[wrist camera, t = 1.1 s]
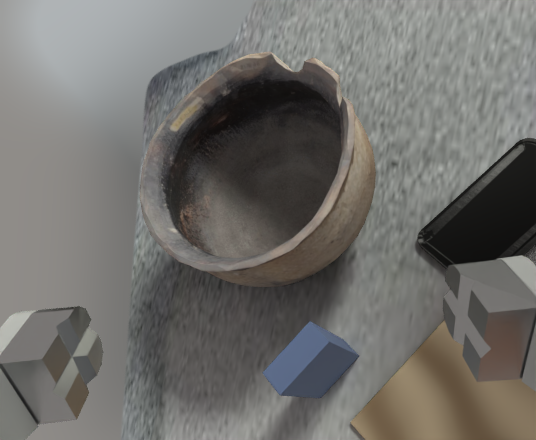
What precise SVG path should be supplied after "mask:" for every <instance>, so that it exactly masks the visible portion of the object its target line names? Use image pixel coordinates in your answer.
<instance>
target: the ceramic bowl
mask: <svg viewBox="0 0 536 440" xmlns="http://www.w3.org/2000/svg"><path fill="white" fill-rule="evenodd" d="M375 176H376V172H375V162H374V155H373V150H372V147H371V144H370V142H369V139H368V137H367V134H366V132H365V130H364V128H363V126H362V125H361V123H360V121H359V119H358V118H357V116H356V115H355V112H354V108H353V105H352V103H351V102H350V100H349V99H347V98H344V97H342V93H341V88H340V78H339V75H338V74H336V73H335V72H334V71H333V70H332V69H331V68H329V67H327V66H325V65H324V64H323V63H322V62H321V61H319V60H317V59H315V58H311V59H309V60H306V61H305V62H304V66H303V69H302V70H300V71H299V72H293V71H292V70H291V69H290V68H289V67H288V66H287V65H286V64H285V63H283V62H282V61H281V60H280V59H279V58H278V57H276V56H275V55H274V54H273V53H271V52H264V53H257V54H249V55H247V56H244V57H241V58H239V59H237V60H235V61H233V62H231V63H229V64H228V65H226V66H224V67H222V68H221V69H219V70H218V71H217V72H215V73H214V74H213V75H211V76H210V77H209V78H207V79H206V80H204V81H202V82H201V83H200V84H199V85H198V86H197V87H196V88H195V89H194V90H193V91H192V92H191V93H189V94H188V95H186V96H184V98H183V99H182V100H181V101H180V102H179V103H178V104H177V105H176V107H175V108H174V109H173V110H172V111H171V112H170V113H169V115H168V116H167V117H166V119H165V120H164V121H163V123H162V124H161V125H160V127H159V128H158V130H157V131H156V133H155V134H154V136H153V138H152V140H151V142H150V144H149V148H148V151H147V154H146V157H145V159H144V163H143V167H142V174H141V183H140V201H141V207H142V213H143V216H144V220H145V223H146V225H147V227H148V229H149V231H150V234H151V236H152V237H153V238H154V239H155V241H156V242H157V243H158V244H159V245H160V246H161V247H162V248H163V249H164V250H165V251H166V252H167V253H168V254H169V255H171V256H172V257H173V258H175V259H176V260H177V261H179V262H181V263H184V264H187V265H189V266H192V267H194V268H196V269H198V270H201V271H206V272H208V273H210V274H212V275H214V276H216V277H218V278H220V279H222V280H225V281H228V282H231V283H235V284H239V285H245V286H252V287H277V286H285V285H289V284H292V283H296V282H299V281H302V280H304V279H306V278H307V277H309V276H311V275H313V274H315V273H317V272H319V271H320V270H322V269H323V268H325V267H326V266H327V265H329V264H330V263H331V262H333V261H334V260H336V259H337V258H338V257H339V256H340V255H341V254H342V253H343V252H344V251H345V250H346V249H347V248H348V246H349V245H350V244H351V243H352V242H353V241H354V240H355V238H356V237H357V236H358V234H359V232H360V230H361V228H362V227H363V225H364V223H365V220H366V217H367V214H368V212H369V209H370V206H371V203H372V198H373V194H374V189H375Z"/></svg>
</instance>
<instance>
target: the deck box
mask: <svg viewBox="0 0 536 440" xmlns="http://www.w3.org/2000/svg"><path fill="white" fill-rule="evenodd" d="M358 357H359V355H358V354H357V353H356V352H355V351H354V350H353V349H352V348H351V347H350V346H349V345H348V344H347V343H346V342H345V341H344V340H343V339H342V338H340V337H338V336H336V335H334V334H332V333H331V332H329V331H327V330H325V329H323V328H322V327H320V326H318V325H316V324H314V323H312V322H311V321H310V322H309V323H308V324H307V325H306V326H305V327H304V328H303V329H302V330H301V331H300V332H299V333H298V335H297V336H296V337H295V338H294V339H293V340H292V341H291V342H290V343H289V344H288V345H287V347H286V348H285V349H284V350H283V351H282V352H281V353H280V354H279V355H278V356H277V357H276V358H275V360H274V361H273V362H272V363H271V364H270V365H269V366H268V367H267V368H266V369H265V370H264V372H263V374H264V376H265V377H266V378H267V379H268V381H269V382H270V383H271V385H272V386H273V387H274V388H275V390H276V391H277V392H278V394H279V395H282V396H296V397H311V398H321V397H322V396H323V395H324V394H325V393H326V392H327V390H328V389H329V388H330V387H331V386H332V385H333V384H334V383H335V382H336V381H337V380H338V379H339V377H340V376H341V375H342V374H343V373H344V372H345V371H346V370H347V369H348V368H349V367H350V365H351V364H352V363H353V362H354V361H355V360H356V359H357V358H358Z"/></svg>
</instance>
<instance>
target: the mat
mask: <svg viewBox="0 0 536 440" xmlns="http://www.w3.org/2000/svg"><path fill="white" fill-rule="evenodd" d="M462 354H463V345H461V344H460V343H458V342H456V341H455V340H453V338H452V336H451V335H450V333H449V331H448V328H447V325H446V323H445V320H444V321H443V322H442V323H441V324H440V325H439V326H438V327H437V329H436V330H435V331H434V332H433V333H432V334H431V335H430V336H429V337H428V338H427V339H426V341H425V342H424V343H423V344H422V345H421V346H420V347H419V348H418V349H417V350H416V351H415V353H414V354H413V355H412V356H411V357H410V358H409V359H408V360H407V361H406V362H405V363H404V364H403V366H402V367H401V368H400V369H399V370H398V371H397V372H396V373H395V374H394V375H393V376H392V378H391V379H390V380H389V381H388V382H387V383H386V384H385V385H384V386H383V387H382V388H381V390H380V391H379V392H378V393H377V394H376V395H375V396H374V397H373V398H372V399H371V400H370V402H369V403H368V404H367V405H366V406H365V407H364V408H363V409H362V410H361V411H360V412H359V414H358V415H357V416H356V417H355V418H354V419H353V420H352V421H351V422H350V423H351V424H352V425H353V426H354V427H355V428H356V430H357V431H358V432H359V433H360V434H361V435H362V437H363V438H364V439H365V440H536V391H534V390H533V389H531V388H530V387H529V386H527V385H526V384H525V383H523V382H522V379H516V380H501V381H486V382H477V381H476V379H475V377H474V376H473V374H472V372H471V370H470V369H469V367H468V365H467V363H466V362H465V360H464V358H463V356H462Z"/></svg>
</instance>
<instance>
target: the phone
mask: <svg viewBox="0 0 536 440" xmlns="http://www.w3.org/2000/svg"><path fill="white" fill-rule="evenodd" d="M418 242H419V244H420V246H421V247H422V248H423V249H424V250H425V251H426V252H427V253H428V254H430V255H431V256H432V257H433V258H434V259H435V260H437V261H438V262H439V263H440V264H441V265H442V266H444V267H445V268H446V269H447V268H448V266H449V265H455V264H464V263H472V262H481V261H489V260H496V259H499V258H506V257H514V256H521V255H522V256H523V255H525V254H526V253H527V252H528V251H529V250H530V249H531V248H532V247H533V246H535V245H536V139H533V138H525V139H522V140H520V141H519V142H517V143H516V144H515V145H514V146H513V147H512V148H511V149H510V150H508V151H507V152H506V153H505V154H504V155H503V156H502V157H501V158H500V159H499V160H498V161H496V162H495V163H494V164H493V165H492V166H491V167H490V168H489V169H488V170H487V171H485V172H484V173H483V174H482V175H481V176H480V177H479V178H478V179H477V180H476V181H474V182H473V183H472V184H471V185H470V186H469V187H468V188H467V189H466V190H465V191H464V192H462V193H461V194H460V195H459V196H458V197H457V198H456V199H455V200H454V201H453V202H451V203H450V204H449V205H448V206H447V207H446V208H445V209H444V210H443V211H442V212H441V213H439V214H438V215H437V216H436V217H435V218H434V219H433V220H432V221H431V222H430V223H428V224H427V225H426V226H425V227H424V228H423V229H422V230H421V231H420V232H419V234H418Z"/></svg>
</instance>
